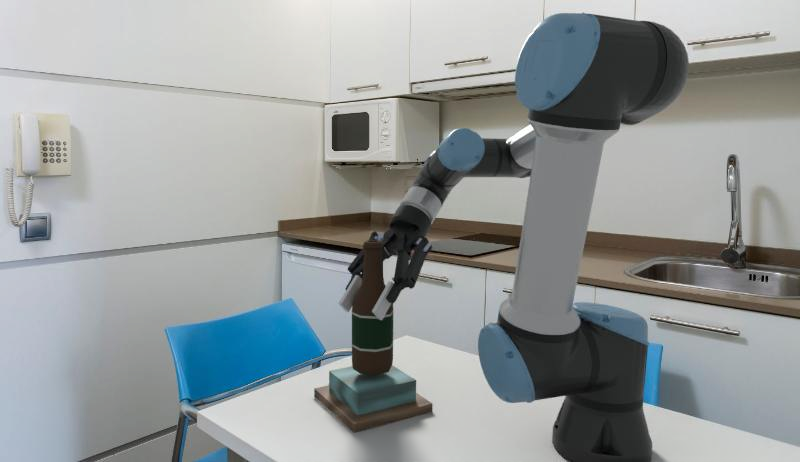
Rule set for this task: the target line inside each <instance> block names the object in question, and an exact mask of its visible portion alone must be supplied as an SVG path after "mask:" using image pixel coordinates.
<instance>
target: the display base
mask: <svg viewBox="0 0 800 462" xmlns="http://www.w3.org/2000/svg"><path fill="white" fill-rule="evenodd" d="M328 377H329V378H328V380H329V382H328V384H327V385H324V386H319V387H315V388H313V389H314V391H313V392H314V393H313V394H314V395H313V396H314V398H316V399H317V400H318V401H320V402H321V403H322V404H323V406H325V407H326V408H327V409H328V410H329V411H330V412H332V414H334V415H335V416H336V417H337V418H338V419H339V420H340V421H341V422H343V424H345V425H346V426H347V427H348V428H349V429H350V430H351V431H352V432H353V433H357V432H361V431H364V430H369V429H372V428H376V427H380V426H383V425H387V424H391V423H395V422H397V421H402V420H406V419H409V418H413V417H417V416H420V415H423V414H427V413H431V412H433V406H434V404H433V403H432V402H431V401H429V400H428V399H427V398H425V397H424V396H422V395H420V394H418V393H417V380H416V379H415V378H414V377H412V376H411V375H409V374H407V373H406V372H405V371H402V370H400V369H399V368H398V367H396V366H394V365H393V364H392V367H391V368H390V370H389V372H387V373H383V374H379V375H366V374H360V373H359V372H357V371H355V370H354V369H353V368H352V366H346V367H342V368H341V367H340V368H337V369H332V370H329V371H328Z"/></svg>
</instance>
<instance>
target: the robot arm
mask: <svg viewBox="0 0 800 462" xmlns="http://www.w3.org/2000/svg"><path fill="white" fill-rule="evenodd" d="M689 63H690V62H689V53H688V51H687V49H686V46H685V44H684V43H683V40H681V38H680V37H679V36H678V35H677V34H676V33H675V32H674V31H673V30H672V29H671V28H669V27H667V26H666V25H664V24H660V23H659V22H658V23H657V22H655V21H649V20H635V19H627V18H622V17H621V18H620V17H615V16H608V15H601V14H594V13H585V12H582V13H576V12H572V13H571V12H562V13H561V12H560V13H559V12H558V13H555V14H553V15H550V16H547V17H546V18H544V19H543V20H541V22H539V23H538V24H536V26H535V27H534V29H533V30H532V32H530V33H529V35H528V36H527V38H526V39H525V42H524V44H523V45H522V48H521V50H520V52H519V55H518V58H517V62H516V67H515V71H514V73H515V75H514V86H515V87H516V89H517V90H516V93H515V94H516V97H517V99H518V100H519V103H521V104H522V106H524V107H525V108H526V109H528V113H527V120H526V121H527V122H528V124H529V125H528V126H526V127H525V128H523V129H521V130H520V131H518V132H517V133H516V134H514V135H512V136H510V137H509V138H488V137H487V138H484V137H483V138H482V137H481V135H480V134H479V133H477V131H475V130H474V131H473V130H471V129H470V128H468V127H460V128H456V129H453V131H451V132H450V133H449V134H448V135H447V136H445V138H443V140H442V141H441V142H440V143H439V146H438V147H437V148H436V150H434V151H432V152H431V153H430V155H428V157H427V158H426V160H425V161H424V162H423V164H422V167H420V168H421V169H420V170H419V172H418V174H417V176H416V177H415V179H414V181H413V182H412V185H411V186H410V187H409V189H408V190H407V192H406V193H405V195H404V197H403V198H402V200H401V202H400V203H399V206H398V207H397V209H396V210H395V212H394V213H393V215H392V217H391V219H390V222H389V223H390V224H389V228H387V230H385V231H384V233H377V231H372V232H371V234H370V235H369V238H368V240H378V241H381V242H382V243H383V247H382V263H383V262H384V261H385V260H388V259H390V258H391V257H392V256H397V257H396V263H395V270H394V275H393V277H391V280H392V281H388V282H387V284H385V286H386V287H385V289H384V291H383V292H382V294H381V296H380V298H379V299H378V301H377V303H376V305H375V306H374V308H373V310H372V312H373V313H374V315H375V316H376V317H377V318H378V319H379V320H383V318H384V316H385V314H386V312H387V311H388V309H389V307H390V305H391V303H393V304H395V303H396V302H397V299H398V297H399V296H400V294H401V292H402V291H404V290H405V289H406V288H409V289H410V290H412V289H414V288H415V286H416V283H417V282H418V278H419V276H420V273H421V271H422V268H423V265H424V263H425V260H426V257H427V256H428V254H429V253H430V252H431V250H433V246H432V244H431V242H430V241H429V239H428V237H427V234H428V232H429V231H430V229H431V228H432V224H433V223H434V221H435V220H436V219H437V216H438V214H439V212H440V210H441V208H442V207H443V205H444V204H445V201H446V199H447V198H448V196H449V194H450V192H452V190H453V189H454V187H455V186H457V185H458V184H459V183H460V182H461V181H462V180H463V179H464V178H518V179H525V178H529V181H528V182H529V185H528V188H527V189H528V190H527V197H526V203H525V209H524V216H523V221H522V227H521V228H522V229H521V235H520V241H519V246H518V247H519V248H518V254H517V261H516V267H515V273H514V278H513V279H514V280H513V287H512V294H511V296H509V297H508V298H506V299H504V300H503V301H502V302H501V303H500V305H499V308H498V314H497V321H496V323H495V322H489V323H488V324H486V325H484V326H483V327H482V328H481V329H480V331H479V334H478V337H477V339H478V340H477V351H478V353H477V354H478V359H479V363H480V366H481V370H482V373H483V375H484V378H485V380H486V382H487V384H488V386H489V388H490V389H491V390H492V392H493V394H495V395H496V396H497V397H498V398H499V399H500V400H502V401H503V402H505V403H509V404H518V403H528V404H530V403H533V402H535V401H540V400H546V399H553V398H559V397H564V399H563V402H562V404H561V407H560V409H559V411H558V413H557V415H556V419H555V421H554V423H553V425H552V437H551V441H552V446H553V448H554V449H555V450H556V451H557V452H558V453H559V454H560V455H561V456H562V457H564V458H565V459H567V460H568V461H570V462H652V457H653V455H652V454H653V441H652V438H651V436H650V432H649V428H648V427H649V426H648V423H647V420H646V416H645V412H644V395H645V387H646V386H645V383H646V371H647V361H648V360H647V359H648V350H649V346H650V341H648V340H649V335H648V334H649V326H648V323H647V320H646V319H645V317H643V316H642V315H640V314H639V313H636V312H634V311H632V310H628V309H625V308H621V307H617V306H614V305H608V304H602V303H597V302H596V303H595V302H585V301H580V302H578V301H577V302H574V300H575V294H576V290H577V285H578V279H579V273H580V269H581V264H582V258H583V253H584V248H585V245H586V244H585V243H586V238H587V232H588V228H589V227H588V226H589V224H590V223H589V222H590V217H591V213H592V207H593V202H594V196H595V190H596V186H597V181H598V176H599V172H600V171H599V170H600V167H601V160H602V155H603V154H602V153H603V149H604V145H605V143H606V141H608V140H609V139H610V138H612V137H613V136H614V135H615V134H617V133H619V132H620V128H621V125H623V126H635V125H637V124H639V123H641V122H643V121H645V120H648V119H650V118H651V117H653V116H656V115H657V114H659V113H660V112H662V111H664V110H665V109H666V108H668V107H669V106H670V105H672V104H673V103H674V101H676V99H677V98H678V97H679V96H680V94H681V93H682V91H683V89H684V88H685V86H686V83H687V80H688V76H689V71H690V70H689V69H690V64H689ZM413 250H414V251H413ZM412 252H413V253H412ZM363 264H364V248H363V247H362V248H361V249H360V251H359V252H358V254H356V256H355V257H354V258H353V260H352V262H351V263H350V264H349V266H348V267H347V271H348V272H349V274H351V278H350V280H349V281H348V284H347V285H346V286H345V292H344V293H343V295H342V297H341V298H340V300H339V302H338V305H339V306H340V307H341V309H343V311H345V312H346V313H349V312H350V311H351V310H352V304H353V300H354V297H355V294H356V292H357V291H358V289H359V288H360V286H361V283H362V278H363ZM393 282H394V283H393Z"/></svg>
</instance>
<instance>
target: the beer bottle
mask: <svg viewBox="0 0 800 462" xmlns="http://www.w3.org/2000/svg"><path fill="white" fill-rule="evenodd" d="M382 247H383V243H382V242H381V241H378V240H369V239H368V240H366V241H364V242H363V245H362V249H363V248H364V264H363V278H362V283H361V286H360V288H359V289H358V291H357V292H356V294H355V297H354V300H353V304H352V307H351V364H352V368H353V369H354V370H355V371H357V372H359V373H360V374H366V375H379V374H383V373H387V372H389V370H390V368H391V367H392V365H393V362H394V361H393V360H394V303H391V305H390V307H389V309H388V311H387V312H386V314H385V316H384V318H383V320H379V319H378V318H377V317H376V316H375V315H374V313H373V312H372V310H373V308H374V306H375V305H376V303H377V301H378V299H379V298H380V296H381V294H382V292H383V291H384V289H385V287H386V283H385V279H384V271H383V270H384V268H383V267H384V266H383V262H382Z"/></svg>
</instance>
